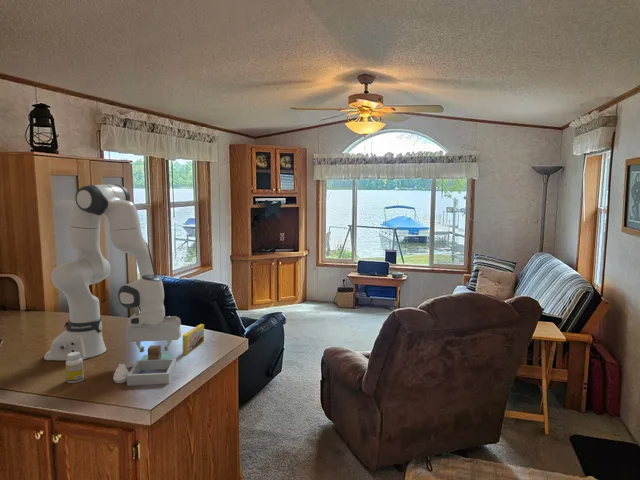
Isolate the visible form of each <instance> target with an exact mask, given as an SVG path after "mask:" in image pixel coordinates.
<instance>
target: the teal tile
mask: <svg viewBox="0 0 640 480" xmlns="http://www.w3.org/2000/svg"><path fill="white" fill-rule="evenodd" d="M172 357H173V353H161V358H160V359H172ZM140 360H148V354H143V356H142V357H141V358H140Z"/></svg>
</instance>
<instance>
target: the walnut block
mask: <svg viewBox="0 0 640 480" xmlns="http://www.w3.org/2000/svg"><path fill="white" fill-rule="evenodd" d="M161 354H162V345H161V344H158V345H154V344H153V345H149V346H148V348H147V355H148V360H159V359H160V358H161Z"/></svg>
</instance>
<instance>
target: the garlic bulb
mask: <svg viewBox="0 0 640 480" xmlns="http://www.w3.org/2000/svg"><path fill="white" fill-rule="evenodd" d="M129 372H130V371H129V370H128V368H127V366H126V365H125V364H124V363H119V364H118V367H117V368H116V369H115V372H114V373H113V377H112V379H113V382H115V383H116V384H123V383H127V375H128V373H129Z"/></svg>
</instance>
